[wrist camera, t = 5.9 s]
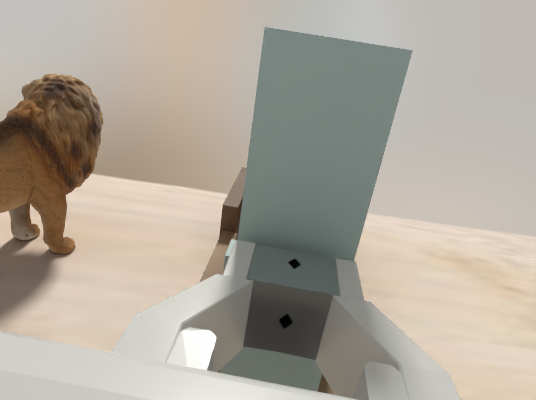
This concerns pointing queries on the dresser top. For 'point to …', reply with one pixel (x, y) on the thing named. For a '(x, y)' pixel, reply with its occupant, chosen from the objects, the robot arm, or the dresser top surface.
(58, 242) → the lion figurine
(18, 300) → the dresser top surface
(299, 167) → the grey-green l-shaped block
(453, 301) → the dresser top surface
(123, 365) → the robot arm
